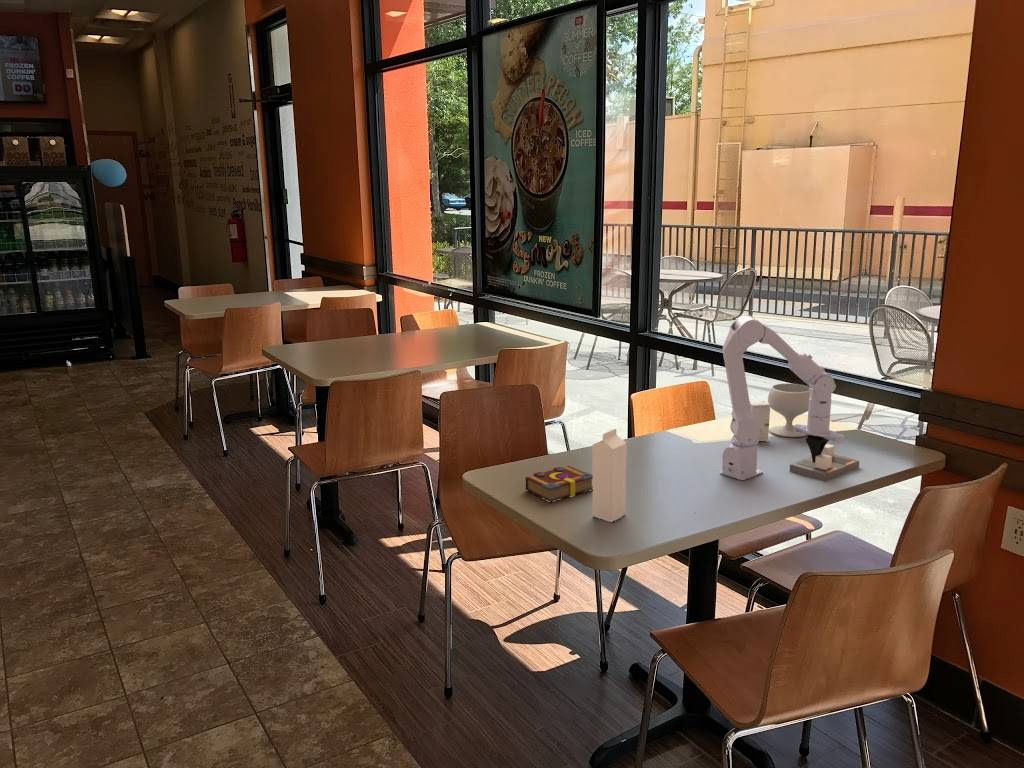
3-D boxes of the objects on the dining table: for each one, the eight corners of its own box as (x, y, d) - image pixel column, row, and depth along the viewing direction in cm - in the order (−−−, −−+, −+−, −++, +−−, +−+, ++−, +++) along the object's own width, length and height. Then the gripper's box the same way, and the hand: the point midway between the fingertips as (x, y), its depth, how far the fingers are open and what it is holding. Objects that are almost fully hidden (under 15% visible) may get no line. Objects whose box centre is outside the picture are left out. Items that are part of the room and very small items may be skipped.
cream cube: (827, 458, 236) (828, 448, 235) (818, 456, 238) (818, 445, 237) (833, 456, 238) (834, 445, 237) (824, 453, 240) (825, 443, 239)
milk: (625, 515, 205) (627, 430, 200) (612, 523, 200) (613, 436, 195) (605, 510, 209) (606, 426, 203) (591, 517, 204) (592, 431, 199)
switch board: (824, 481, 224) (825, 473, 224) (789, 471, 233) (789, 463, 233) (858, 467, 235) (859, 460, 234) (823, 458, 243) (824, 451, 243)
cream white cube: (824, 470, 227) (825, 459, 226) (815, 467, 229) (815, 456, 228) (831, 467, 229) (832, 456, 228) (821, 464, 231) (822, 453, 230)
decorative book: (524, 492, 223) (524, 474, 222) (571, 479, 232) (571, 462, 230) (550, 504, 214) (550, 486, 212) (598, 490, 223) (598, 473, 221)
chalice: (757, 432, 269) (759, 387, 265) (780, 424, 277) (783, 380, 274) (797, 442, 258) (800, 395, 255) (819, 432, 267) (823, 387, 264)
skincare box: (750, 442, 259) (752, 405, 256) (744, 438, 263) (746, 401, 260) (769, 441, 259) (771, 404, 257) (763, 437, 264) (764, 400, 261)
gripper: (851, 417, 224) (847, 465, 227) (804, 407, 235) (801, 452, 238) (837, 422, 220) (833, 470, 223) (789, 411, 231) (786, 457, 234)
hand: (815, 461), depth 230 cm, fingers closed
